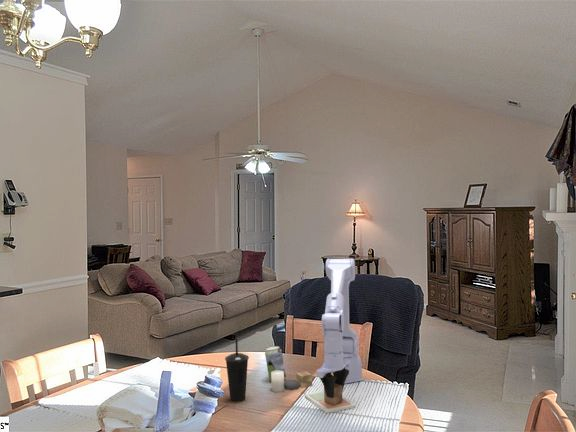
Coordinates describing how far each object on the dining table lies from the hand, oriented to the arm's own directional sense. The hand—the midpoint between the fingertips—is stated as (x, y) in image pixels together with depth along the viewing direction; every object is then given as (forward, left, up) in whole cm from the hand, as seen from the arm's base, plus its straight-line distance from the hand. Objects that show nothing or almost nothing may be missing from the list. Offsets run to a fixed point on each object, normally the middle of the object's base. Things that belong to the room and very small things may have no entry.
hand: (334, 394), depth 156 cm
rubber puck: (+5, -21, -4) cm, 22 cm away
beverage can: (+7, -30, -4) cm, 32 cm away
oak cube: (0, -21, -3) cm, 22 cm away
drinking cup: (+25, -19, -4) cm, 32 cm away
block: (0, 0, -2) cm, 2 cm away
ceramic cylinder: (+10, -21, -3) cm, 24 cm away
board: (0, -3, -3) cm, 5 cm away
